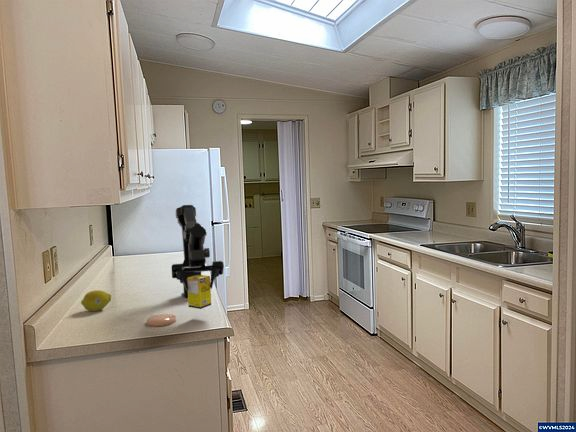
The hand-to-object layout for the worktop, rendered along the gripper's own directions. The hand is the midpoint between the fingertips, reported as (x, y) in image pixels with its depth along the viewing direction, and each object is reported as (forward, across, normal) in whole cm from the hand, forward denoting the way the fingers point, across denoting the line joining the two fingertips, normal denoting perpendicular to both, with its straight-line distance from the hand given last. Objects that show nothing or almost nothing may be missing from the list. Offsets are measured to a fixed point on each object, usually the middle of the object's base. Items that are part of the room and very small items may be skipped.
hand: (199, 289), depth 151 cm
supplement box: (+4, 0, +6) cm, 7 cm away
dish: (+7, -14, +9) cm, 18 cm away
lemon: (-9, -38, +26) cm, 47 cm away
